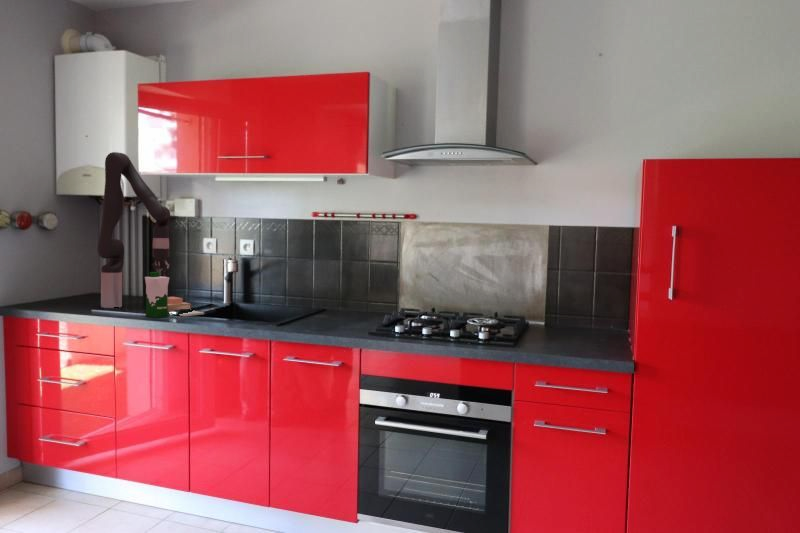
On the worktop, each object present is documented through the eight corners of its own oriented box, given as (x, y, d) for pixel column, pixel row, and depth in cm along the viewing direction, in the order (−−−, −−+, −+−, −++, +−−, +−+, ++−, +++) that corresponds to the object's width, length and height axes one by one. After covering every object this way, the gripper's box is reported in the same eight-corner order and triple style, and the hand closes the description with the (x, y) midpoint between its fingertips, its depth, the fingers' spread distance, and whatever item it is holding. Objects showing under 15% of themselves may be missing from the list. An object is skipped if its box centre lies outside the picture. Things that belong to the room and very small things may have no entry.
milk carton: (159, 314, 307) (159, 271, 305) (171, 316, 302) (171, 272, 300) (142, 316, 299) (142, 272, 298) (155, 318, 294) (155, 273, 293)
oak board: (153, 311, 316) (153, 302, 316) (175, 308, 326) (175, 300, 325) (168, 313, 309) (168, 305, 308) (190, 311, 318) (190, 303, 318)
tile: (161, 302, 317) (161, 297, 317) (172, 301, 322) (172, 296, 322) (171, 304, 312) (171, 299, 312) (182, 303, 317) (182, 298, 317)
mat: (168, 314, 309) (168, 312, 309) (190, 311, 318) (190, 310, 318) (181, 316, 302) (181, 314, 302) (204, 314, 312) (204, 312, 312)
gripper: (146, 247, 322) (146, 282, 323) (161, 248, 314) (161, 284, 315) (160, 246, 328) (160, 281, 329) (175, 247, 320) (175, 283, 321)
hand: (161, 283), depth 322 cm, fingers closed
